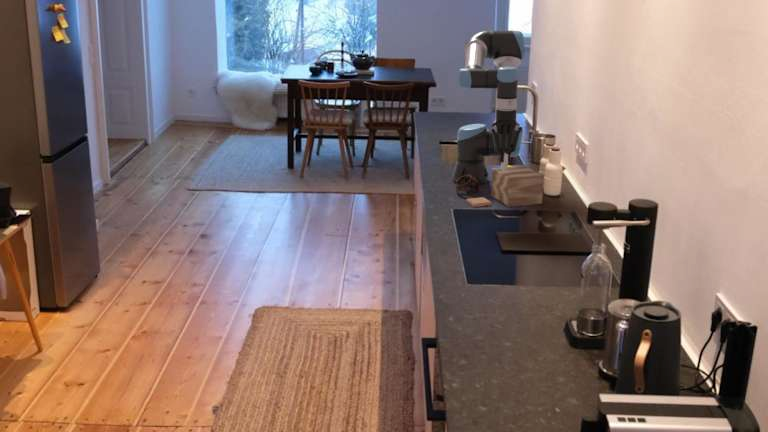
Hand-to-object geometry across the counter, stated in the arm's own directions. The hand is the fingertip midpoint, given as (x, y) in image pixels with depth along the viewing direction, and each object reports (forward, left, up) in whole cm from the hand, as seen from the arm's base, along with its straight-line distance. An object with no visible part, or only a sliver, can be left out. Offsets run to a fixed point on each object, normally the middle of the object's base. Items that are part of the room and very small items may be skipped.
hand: (504, 170), depth 327 cm
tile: (0, -10, -11) cm, 15 cm away
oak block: (0, +6, -12) cm, 13 cm away
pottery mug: (-15, -8, -13) cm, 21 cm away
